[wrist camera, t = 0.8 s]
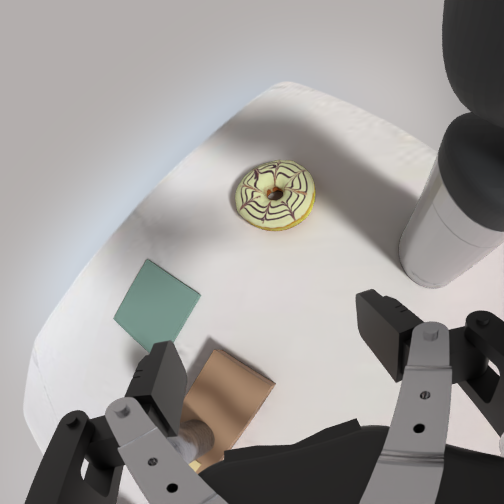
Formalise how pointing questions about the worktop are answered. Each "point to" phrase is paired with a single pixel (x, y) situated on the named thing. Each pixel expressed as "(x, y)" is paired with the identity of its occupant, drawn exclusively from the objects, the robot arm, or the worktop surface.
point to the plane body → (224, 402)
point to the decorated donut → (268, 181)
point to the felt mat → (155, 306)
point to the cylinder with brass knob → (193, 440)
